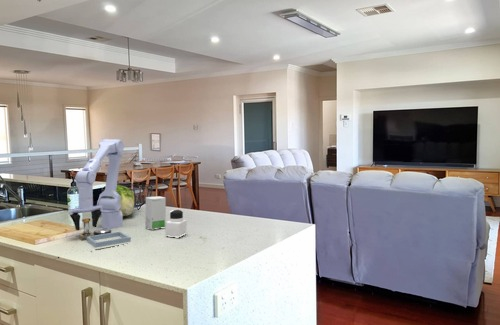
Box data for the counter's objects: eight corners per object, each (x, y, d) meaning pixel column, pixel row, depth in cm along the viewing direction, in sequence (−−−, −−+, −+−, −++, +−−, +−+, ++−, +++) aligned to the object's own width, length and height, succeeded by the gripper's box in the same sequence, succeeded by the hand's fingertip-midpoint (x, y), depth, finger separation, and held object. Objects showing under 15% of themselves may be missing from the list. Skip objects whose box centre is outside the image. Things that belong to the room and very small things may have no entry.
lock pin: (89, 235, 173) (88, 217, 173) (91, 237, 171) (91, 219, 170) (81, 236, 171) (80, 218, 170) (83, 238, 168) (83, 220, 168)
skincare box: (150, 230, 188) (150, 199, 187) (144, 228, 193) (144, 197, 191) (166, 228, 193) (166, 197, 192) (159, 225, 198) (159, 195, 197)
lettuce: (111, 207, 201) (138, 185, 211) (87, 194, 214) (113, 174, 224) (125, 230, 212) (150, 208, 222) (102, 217, 225) (126, 196, 235)
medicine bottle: (186, 235, 181) (186, 209, 180) (179, 238, 175) (179, 212, 174) (173, 233, 184) (173, 208, 183) (165, 237, 177) (165, 211, 176)
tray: (120, 238, 174) (120, 231, 174) (130, 244, 165) (130, 237, 165) (86, 243, 165) (86, 236, 165) (95, 250, 156) (95, 243, 156)
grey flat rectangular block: (106, 233, 182) (106, 226, 181) (114, 238, 174) (114, 231, 174) (74, 238, 172) (74, 231, 172) (81, 243, 165) (81, 236, 165)
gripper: (96, 194, 177) (97, 224, 178) (64, 198, 166) (65, 229, 167) (104, 196, 173) (105, 226, 174) (72, 200, 162) (72, 232, 163)
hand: (86, 228), depth 170 cm, fingers open, 7 cm apart
